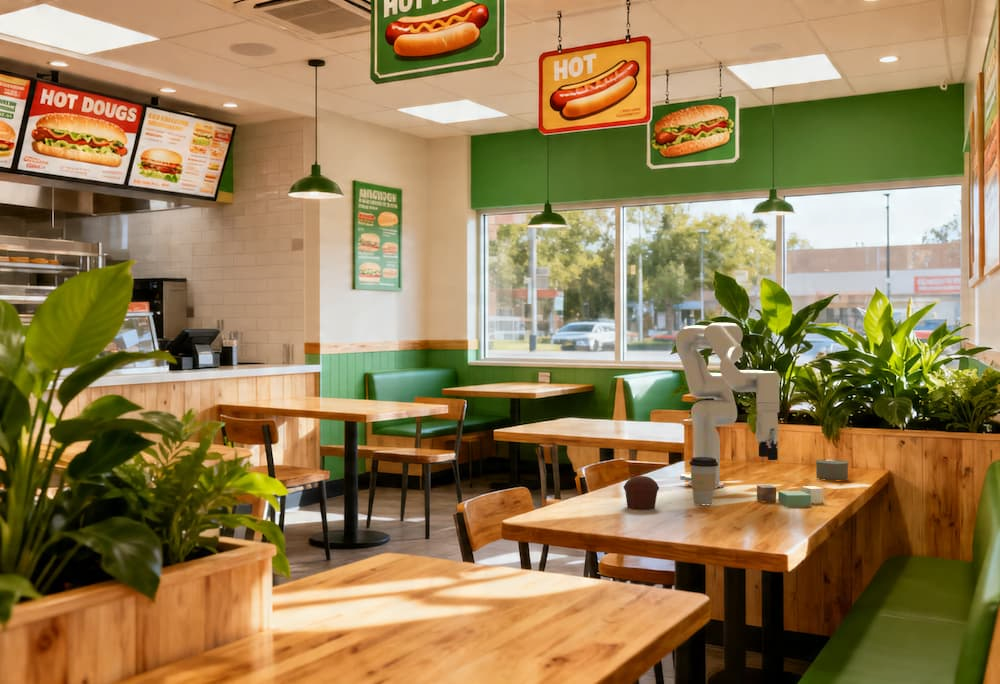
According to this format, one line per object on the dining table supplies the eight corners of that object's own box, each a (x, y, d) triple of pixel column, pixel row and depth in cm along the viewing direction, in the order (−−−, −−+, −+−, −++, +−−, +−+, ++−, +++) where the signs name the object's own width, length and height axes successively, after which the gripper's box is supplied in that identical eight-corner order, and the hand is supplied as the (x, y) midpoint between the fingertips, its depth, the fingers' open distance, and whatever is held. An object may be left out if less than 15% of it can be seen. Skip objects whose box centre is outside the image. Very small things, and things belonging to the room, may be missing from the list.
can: (819, 481, 362) (819, 463, 362) (812, 476, 374) (813, 459, 374) (851, 481, 360) (852, 464, 360) (844, 477, 372) (844, 459, 372)
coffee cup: (686, 505, 308) (687, 459, 308) (691, 500, 317) (691, 456, 317) (715, 507, 305) (716, 461, 305) (719, 502, 314) (720, 457, 314)
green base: (786, 507, 308) (787, 495, 308) (778, 503, 316) (778, 491, 315) (810, 507, 308) (810, 495, 308) (801, 502, 316) (801, 491, 316)
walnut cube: (761, 502, 315) (761, 487, 315) (756, 499, 320) (757, 485, 320) (776, 502, 316) (776, 487, 315) (771, 499, 321) (771, 485, 320)
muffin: (638, 512, 296) (638, 480, 296) (615, 506, 305) (616, 475, 305) (666, 508, 302) (666, 477, 302) (643, 503, 312) (644, 473, 311)
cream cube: (810, 503, 313) (810, 488, 313) (801, 501, 318) (801, 486, 318) (823, 503, 315) (823, 488, 315) (814, 500, 319) (814, 485, 319)
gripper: (749, 406, 326) (749, 455, 326) (764, 409, 309) (764, 461, 309) (770, 406, 326) (770, 455, 326) (787, 409, 309) (787, 461, 309)
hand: (767, 458), depth 317 cm, fingers open, 9 cm apart
